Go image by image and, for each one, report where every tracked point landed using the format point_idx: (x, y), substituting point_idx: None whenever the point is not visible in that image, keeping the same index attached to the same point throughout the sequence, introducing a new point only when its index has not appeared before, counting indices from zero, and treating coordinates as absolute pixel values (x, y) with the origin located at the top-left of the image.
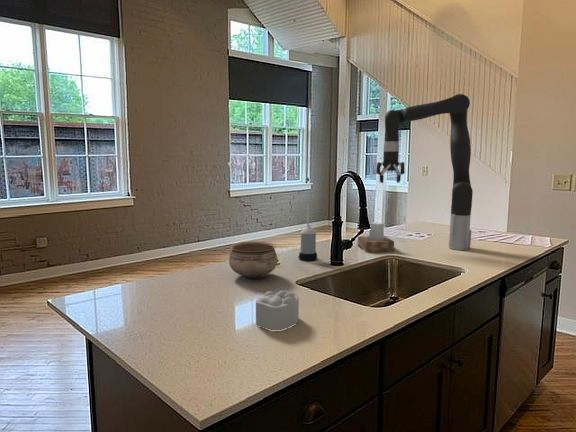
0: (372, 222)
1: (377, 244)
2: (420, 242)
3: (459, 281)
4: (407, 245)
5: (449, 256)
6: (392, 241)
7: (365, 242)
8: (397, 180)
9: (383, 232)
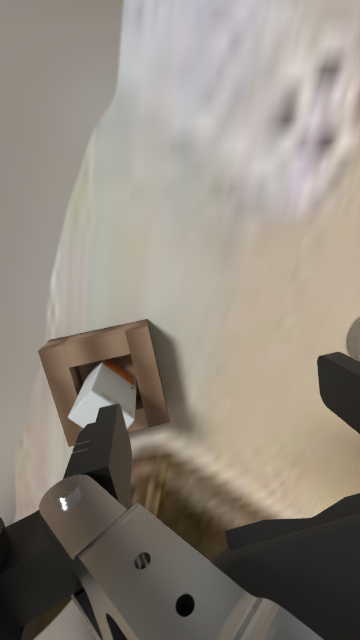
0: (83, 403)
1: None
2: (285, 260)
3: None
4: (228, 313)
5: (307, 436)
6: (163, 421)
7: (66, 437)
8: (335, 392)
9: (135, 402)
